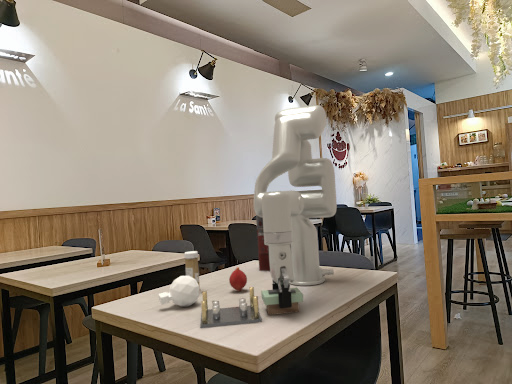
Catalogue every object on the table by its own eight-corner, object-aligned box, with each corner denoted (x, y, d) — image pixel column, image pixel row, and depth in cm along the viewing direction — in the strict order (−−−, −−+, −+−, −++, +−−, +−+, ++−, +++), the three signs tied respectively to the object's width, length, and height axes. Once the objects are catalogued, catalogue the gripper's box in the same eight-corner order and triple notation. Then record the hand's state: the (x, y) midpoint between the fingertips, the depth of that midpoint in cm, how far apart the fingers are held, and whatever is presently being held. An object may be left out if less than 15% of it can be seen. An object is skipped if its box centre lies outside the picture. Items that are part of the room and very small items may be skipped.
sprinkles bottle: (202, 291, 129) (200, 251, 129) (189, 294, 126) (187, 253, 126) (196, 289, 132) (194, 250, 133) (184, 291, 130) (182, 252, 130)
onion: (226, 292, 126) (224, 267, 126) (238, 288, 130) (237, 264, 130) (238, 294, 122) (237, 269, 122) (251, 290, 126) (249, 266, 126)
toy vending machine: (257, 271, 156) (252, 203, 156) (266, 266, 166) (262, 201, 167) (278, 272, 153) (273, 201, 153) (286, 266, 163) (282, 200, 163)
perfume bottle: (194, 292, 120) (157, 304, 115) (192, 266, 117) (154, 277, 112) (205, 306, 113) (166, 320, 108) (203, 279, 110) (163, 292, 105)
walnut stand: (295, 307, 105) (295, 296, 105) (298, 311, 101) (298, 300, 101) (266, 310, 104) (266, 299, 104) (268, 314, 100) (268, 303, 100)
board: (297, 294, 106) (296, 285, 106) (303, 301, 99) (302, 291, 99) (261, 298, 105) (261, 288, 105) (265, 305, 98) (264, 295, 98)
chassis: (256, 307, 107) (254, 286, 107) (261, 321, 95) (260, 297, 95) (201, 313, 105) (200, 291, 105) (200, 327, 93) (198, 303, 93)
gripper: (299, 240, 94) (303, 310, 94) (285, 234, 111) (289, 293, 111) (268, 243, 93) (273, 313, 93) (260, 236, 111) (263, 295, 110)
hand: (282, 302), depth 102 cm, fingers open, 9 cm apart
